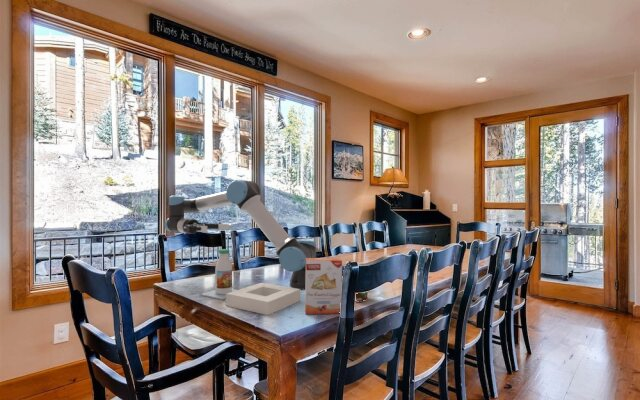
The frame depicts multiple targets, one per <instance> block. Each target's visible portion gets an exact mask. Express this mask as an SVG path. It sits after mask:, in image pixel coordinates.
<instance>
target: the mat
mask: <svg viewBox="0 0 640 400" xmlns="http://www.w3.org/2000/svg"><path fill="white" fill-rule="evenodd" d="M236 290H237V289H234V288H232V292H233V291H236ZM200 296H202V297H208V298H211V299H216V300H221V301H226V294H216V293H215V289H213V290H210V291H206V292H203V293H201V294H200Z"/></svg>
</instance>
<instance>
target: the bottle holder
mask: <svg viewBox="0 0 640 400" xmlns="http://www.w3.org/2000/svg"><path fill="white" fill-rule="evenodd" d="M235 290H236V291H233V292H230V293H226V299H225V301H226V303H225V305H226V307H231V308H235V309H240V310H245V311H248V312H251V313H252V312H253V313H258V314H261V315H266V316H269V315H271V314H273V313H275V312H278V311H281V310H283V309H286V307H287V308H288V307H290V306H292V305H293V304H297V302H300V301H301V289H297V288H293V287H291V286H284V285H283V286H282V285H278V284H271V283H266V282H259V283H256V284H252V285H249V286H246V287H243V288H240V289H235Z"/></svg>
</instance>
